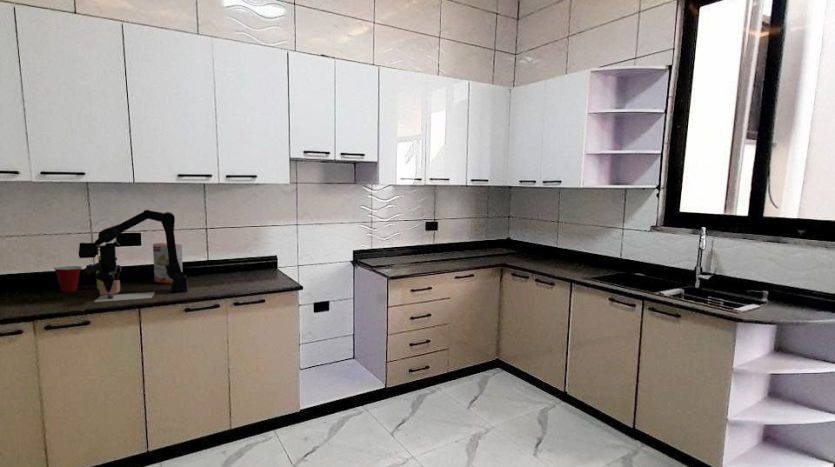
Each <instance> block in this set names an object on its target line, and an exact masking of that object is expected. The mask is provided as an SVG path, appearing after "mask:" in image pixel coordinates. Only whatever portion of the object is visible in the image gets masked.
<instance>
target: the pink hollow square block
mask: <svg viewBox="0 0 835 467" xmlns="http://www.w3.org/2000/svg"><path fill="white" fill-rule="evenodd" d="M120 281H121V280H120V279H117V280H114V282H113V285H112V288H111V291H110V292H107V291H106V288H105V286H104V283H103V282H101V283H100V284H99V288H100V290H99V295H100V296H104V295H108V294H113V295H118V293H119V292H120V291H121V282H120Z"/></svg>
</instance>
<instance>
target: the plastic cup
mask: <svg viewBox="0 0 835 467" xmlns="http://www.w3.org/2000/svg"><path fill="white" fill-rule="evenodd" d="M82 268H83V266H80V265H66V266H65V265H64V266H54V267H53V269H54V271H55V274H56V276H57V280H58V284H59V286H60V287H59V288H60V290H61V292H62V293H71V292H75V291H77V290H78V284H79V279H80V273H81V270H82Z"/></svg>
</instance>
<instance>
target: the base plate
mask: <svg viewBox="0 0 835 467" xmlns="http://www.w3.org/2000/svg"><path fill="white" fill-rule="evenodd" d="M155 293H156V292H155V291H152V292H150V291H149V292H139V293H138V292H137V293H136V292H135V293H134V292H133V293H122V294H120V293H119V294H113V298H108V294H103V295H100V296H99V297H97V299H95V300H94V303H99V302H101V303H102V302H113V301H125V300H141V299H152V298H153V296H154V295H155Z"/></svg>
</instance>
